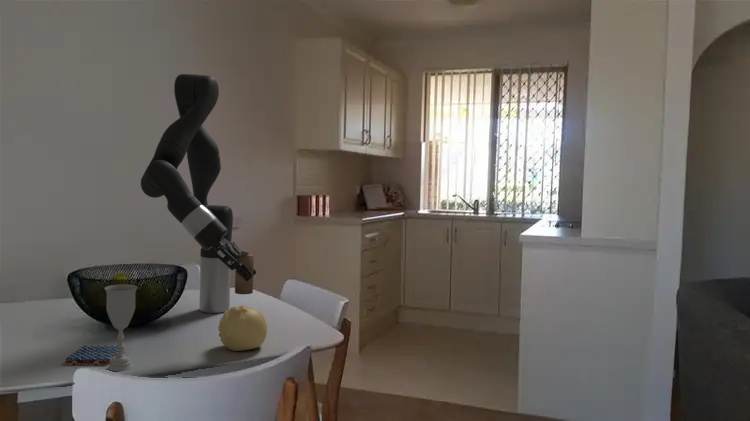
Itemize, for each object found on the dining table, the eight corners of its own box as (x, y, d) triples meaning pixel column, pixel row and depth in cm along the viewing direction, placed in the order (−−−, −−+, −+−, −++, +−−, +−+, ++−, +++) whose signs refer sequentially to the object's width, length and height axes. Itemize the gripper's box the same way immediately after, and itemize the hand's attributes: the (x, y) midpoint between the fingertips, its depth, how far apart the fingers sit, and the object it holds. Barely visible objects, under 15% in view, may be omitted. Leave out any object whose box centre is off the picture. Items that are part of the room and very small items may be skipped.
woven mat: (61, 367, 133) (61, 358, 133) (81, 352, 143) (81, 344, 143) (110, 368, 134) (110, 359, 134) (126, 353, 144) (126, 345, 144)
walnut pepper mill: (236, 290, 152) (237, 249, 151) (254, 291, 152) (255, 250, 152) (233, 294, 148) (234, 252, 147) (251, 294, 148) (252, 252, 147)
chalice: (110, 361, 136) (111, 284, 135) (141, 362, 137) (142, 284, 136) (98, 372, 129) (99, 290, 128) (130, 372, 130) (131, 291, 128)
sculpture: (217, 342, 155) (218, 301, 154) (264, 340, 158) (265, 300, 157) (218, 355, 144) (219, 311, 143) (268, 353, 147) (269, 310, 146)
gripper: (208, 219, 141) (258, 271, 143) (221, 215, 156) (267, 262, 157) (185, 240, 141) (235, 292, 143) (200, 234, 156) (246, 282, 157)
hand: (251, 276), depth 150 cm, fingers closed on walnut pepper mill, 4 cm apart
